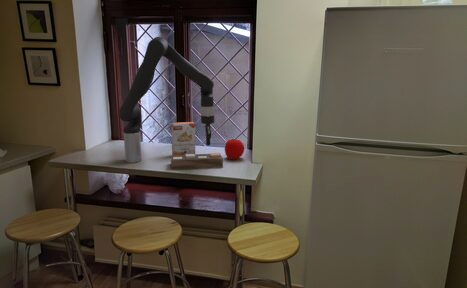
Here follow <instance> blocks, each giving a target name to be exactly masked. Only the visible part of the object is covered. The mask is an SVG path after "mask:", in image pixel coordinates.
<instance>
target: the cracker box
mask: <svg viewBox="0 0 467 288" xmlns="http://www.w3.org/2000/svg"><path fill="white" fill-rule="evenodd" d="M186 154H196V123H195V122H194V121H185V122H171V155H186Z"/></svg>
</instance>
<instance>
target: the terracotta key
mask: <svg viewBox="0 0 467 288" xmlns="http://www.w3.org/2000/svg"><path fill="white" fill-rule="evenodd" d="M209 154H210V157H211V158H213V157H220V155H219V152H210V153H209Z"/></svg>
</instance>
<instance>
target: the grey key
mask: <svg viewBox="0 0 467 288" xmlns="http://www.w3.org/2000/svg"><path fill="white" fill-rule="evenodd" d="M195 154H196V153H195ZM195 154H186V159H187V158H195Z"/></svg>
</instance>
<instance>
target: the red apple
mask: <svg viewBox="0 0 467 288" xmlns="http://www.w3.org/2000/svg"><path fill="white" fill-rule="evenodd" d="M244 152H245V145H244V143H243V141H242V140H240V139H236V138H230V139H228V140H227V141H226V142H225V144H224V153H225V156H226V157H227V158H228V159H229V160H238V159H240V158H242V156H243V154H244Z"/></svg>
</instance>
